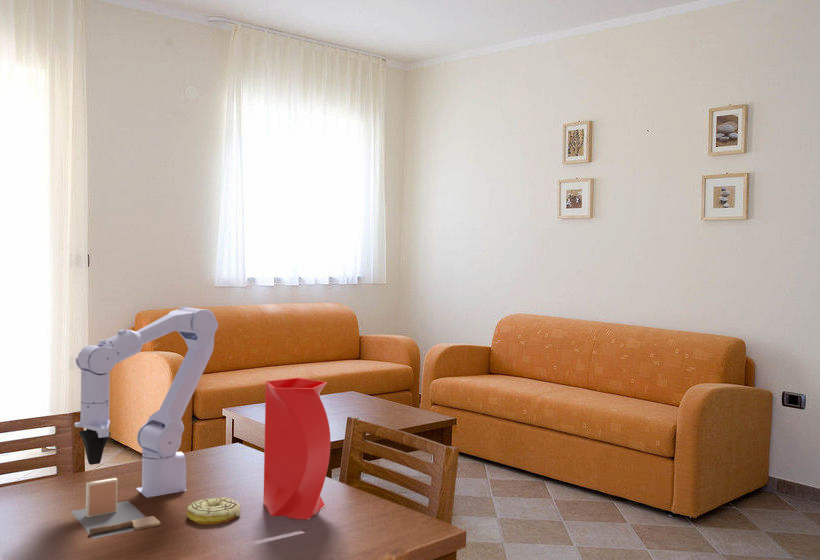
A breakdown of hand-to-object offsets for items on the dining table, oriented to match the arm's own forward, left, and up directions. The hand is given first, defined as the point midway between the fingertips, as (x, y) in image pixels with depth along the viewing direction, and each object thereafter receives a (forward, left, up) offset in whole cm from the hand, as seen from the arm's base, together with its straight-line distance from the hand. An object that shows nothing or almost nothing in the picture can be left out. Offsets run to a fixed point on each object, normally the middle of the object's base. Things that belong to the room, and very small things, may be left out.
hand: (94, 463), depth 160 cm
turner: (-2, +17, -9) cm, 19 cm away
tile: (0, +6, -9) cm, 11 cm away
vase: (-35, +24, -10) cm, 44 cm away
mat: (-1, +10, -10) cm, 14 cm away
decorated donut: (-19, +20, -10) cm, 30 cm away
